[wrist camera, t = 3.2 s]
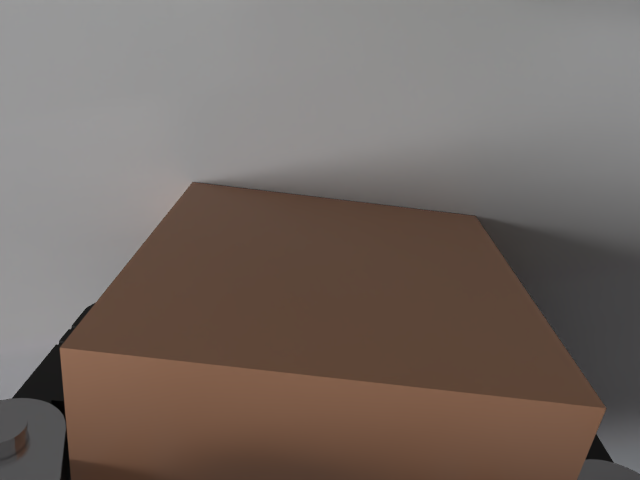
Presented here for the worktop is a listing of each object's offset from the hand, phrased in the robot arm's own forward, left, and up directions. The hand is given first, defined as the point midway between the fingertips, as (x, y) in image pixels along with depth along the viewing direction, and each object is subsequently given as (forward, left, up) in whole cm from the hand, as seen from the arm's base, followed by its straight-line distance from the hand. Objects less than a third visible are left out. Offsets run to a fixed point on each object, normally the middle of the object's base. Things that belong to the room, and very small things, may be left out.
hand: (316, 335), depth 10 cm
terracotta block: (0, 0, 0) cm, 0 cm away
